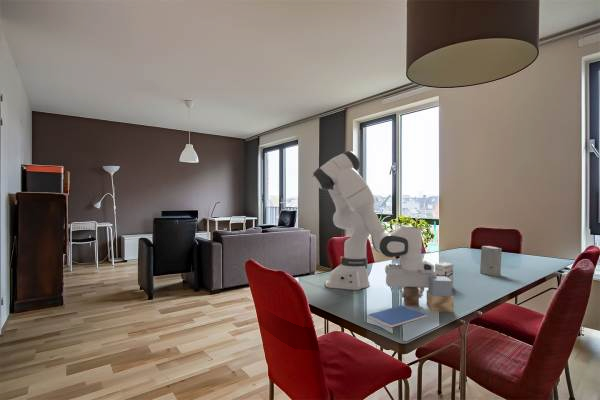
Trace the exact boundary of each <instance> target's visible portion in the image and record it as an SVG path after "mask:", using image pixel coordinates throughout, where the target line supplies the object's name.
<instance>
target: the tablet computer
mask: <svg viewBox="0 0 600 400" xmlns="http://www.w3.org/2000/svg"><path fill="white" fill-rule="evenodd" d="M366 318H368V319H371V320H372V321H374V322H377V323H379V324H381V325H384V326H386V327H388V328H394V327H397V326H401V325H405V324H407V323H410V322H411V323H412V322H413V321H417V320H422V319H424V318H428V316H427V314H425V313H422V312H419V311H416V310H413V309H412V308H409V307H406V306H404V305H399V306H398V305H397V306H395V307H391V308H388V309H387V308H386V309H384V310H380V311H376V312H373V313H367V315H366Z"/></svg>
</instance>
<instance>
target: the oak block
mask: <svg viewBox="0 0 600 400" xmlns="http://www.w3.org/2000/svg"><path fill="white" fill-rule="evenodd" d="M454 304H455V303H454V296H453V295H452V297H451V296H433V295H432V294H431V293H430V292H429V291H428V289H427V290H426V306H427V307H428V308H429V310H430V311H431V312H440V313H441V312H442V313H443V312H445V313H454V311H455V310H454V309H455V308H454Z"/></svg>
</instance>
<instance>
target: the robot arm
mask: <svg viewBox="0 0 600 400" xmlns="http://www.w3.org/2000/svg"><path fill="white" fill-rule="evenodd" d="M360 167H361V162H360V160H359V157H358V156H357V154H356V153H355V152H353V151H350V150H346V151H344V152H341V153H340V154H339V155H336V156H334V157H333V158H330V159H329V160H328V161H327V162H326V163H323V165H321V166H320V167H318V168H316V170H315V171H313V173H312V174H313V175H312V177H313V181H314V184H315V185H316V186H317V187H318V188H319V189H320V190H322V191H328V193H329V195H330V197H331V199H332V202H333V203H334V206H335V212H334V214H333V216H332V222H333V224H334V226H335V227H337V228H338V229H342V230H349V231H351V235H350V237H349V238H347V239H346V240H344V247H343V250H344V255H343V256H342V255H341V256H340V257H339V261H340V264H339V265H338V266H336V267H335V268H334V269H332V270H331V272H330V275H329V279H326V280H325V284H324V285H325V286H326V288H329V289H330V288H331V289H341V290H354V291H359V290H361V289H366V288H369V287H370V281H369V277H368V271H367V270H368V257H367V243H368V239H369V236H371V242H372V247H373V248H374V250H375V251H376V252H378V253H380V254H381V255H383V256H385V257H387V258H396V257H399V263H389V264H387V265H386V266H385V268H384V270H385V274H386V275H385V284H386V286H387V287H389V288H390V287H395V288H398V290H399V292H400V297H401V298H404V297H405V292H404V291H403V288H402V287H420V289H421V290H420V291H419V299H422V297H423V296H422V295H423V293H424V291H425V288H427V289H428V288H429V277H437V276H436V273H435V264H433V263H431V262H430V261H426V260H423V256H422V255H423V254H422V249H423V240H422V239H423V238H422V233H421V230H420V229H419V228H418V227H417V226H412V225H408V224H406V225H405V224H403V225H401V226H400V227H398V228H397V229H395V230H393V231H391V232H389V231H388V230H386V228H384V227H383V224H382V223H381V221H380V220H379V216H378V214H377V213H376V211H375V210H374V209H375V208H374V207H375V203H376V202H375V200H376V199H375V197H374V195H373V194H374V193H373V192H372V190H371V188H370V186H369V185H368V184H367V182H366V181H365V179H364V178H363V177H362V175H361V174H360V173H359V172H358V170H359V169H360Z"/></svg>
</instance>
